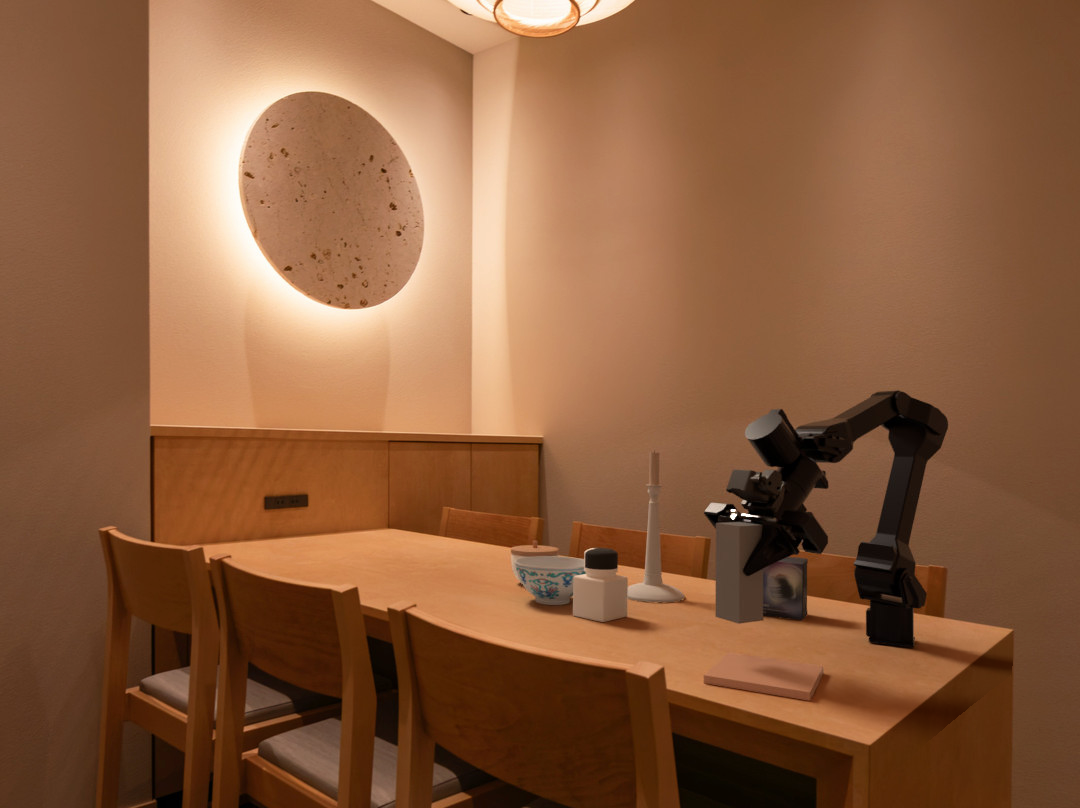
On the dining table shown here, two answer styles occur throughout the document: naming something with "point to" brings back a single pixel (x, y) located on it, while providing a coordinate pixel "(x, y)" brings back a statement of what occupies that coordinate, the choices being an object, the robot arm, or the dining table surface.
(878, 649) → the dining table surface
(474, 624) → the dining table surface
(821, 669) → the terracotta tile
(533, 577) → the chinaware
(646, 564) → the candlestick
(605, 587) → the medicine bottle
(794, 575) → the small box
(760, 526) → the grey block
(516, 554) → the lidded jar
